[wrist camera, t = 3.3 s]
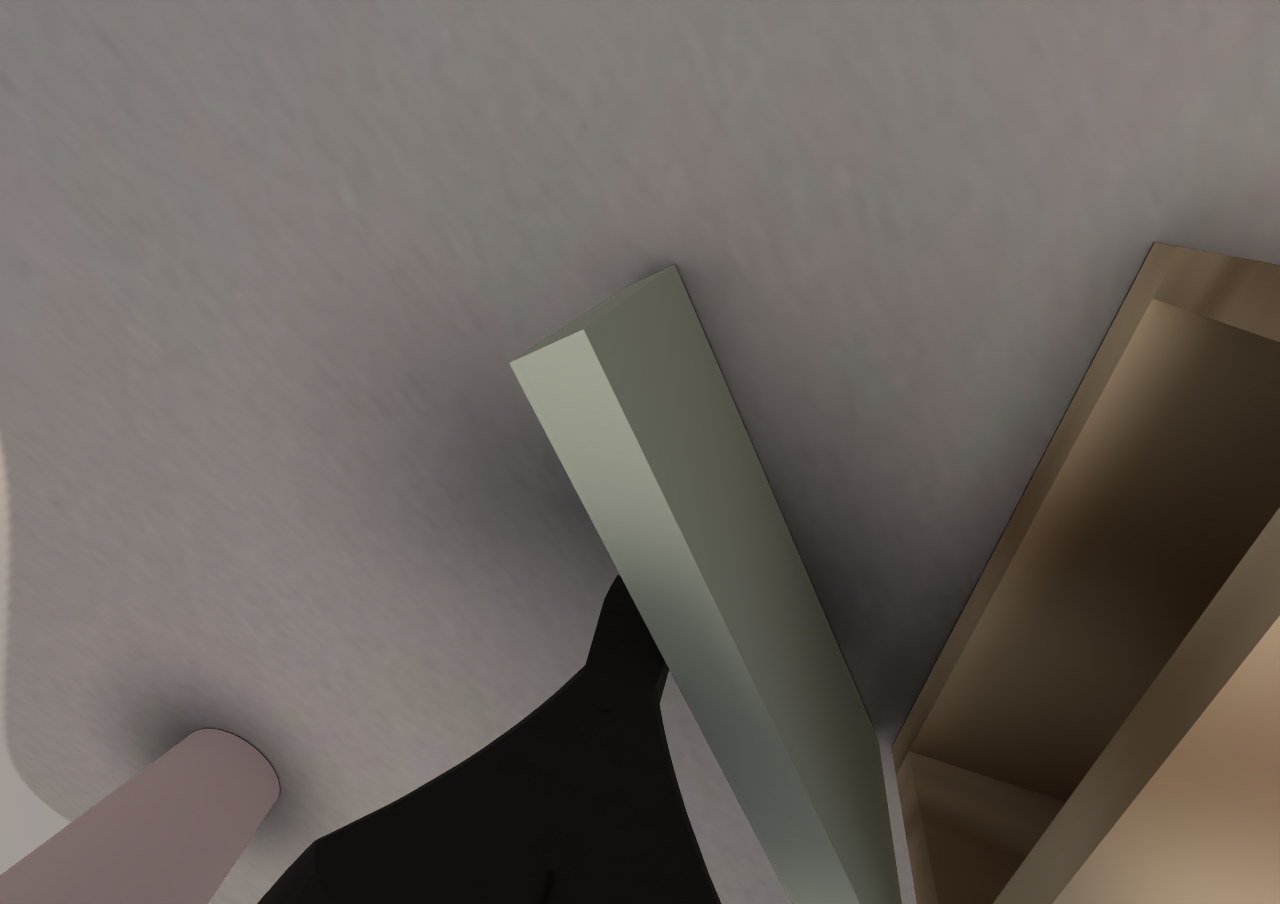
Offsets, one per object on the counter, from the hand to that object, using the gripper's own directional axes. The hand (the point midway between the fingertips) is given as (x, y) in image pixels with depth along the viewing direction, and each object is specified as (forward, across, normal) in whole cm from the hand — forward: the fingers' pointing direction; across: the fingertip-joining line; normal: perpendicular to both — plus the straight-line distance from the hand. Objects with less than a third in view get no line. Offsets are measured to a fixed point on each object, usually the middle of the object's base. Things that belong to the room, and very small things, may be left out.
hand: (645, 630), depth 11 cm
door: (+4, -2, 0) cm, 4 cm away
